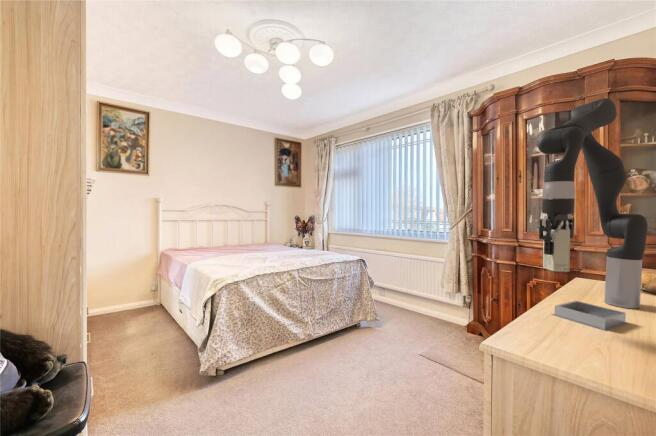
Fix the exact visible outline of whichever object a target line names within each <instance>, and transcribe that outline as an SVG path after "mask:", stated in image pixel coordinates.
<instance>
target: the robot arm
mask: <svg viewBox="0 0 656 436" xmlns="http://www.w3.org/2000/svg"><path fill="white" fill-rule="evenodd" d="M616 118H617V107H616V104H615V102H614V101H613V100H612V99H611V98H599V99H596V100H593V101H590V102H588V103H585V104H582V105H579V106H576V107H574V108H572V110H571V112H570V119H569V120H567V121H566V122H564V123H563V124H562V125H558V126H555V127H552V128H550V129H548V130H545V131H544V132H543V133H542V134H540V136H539V138H538V139H537V148H538V150H539V151H540V152H541V153H542V154H544V155H556V154H557V155H558V154H563V155H562V157H561V158H560V159H557V160H555V161H551V162H547V163H546V164H545V165H544V169H543V171H544V173H543V175H544V176H543V187H542V195H541V196H542V197H541V199H542V200H541V213H542V214H544V215H546V217H545V218H539V219H538V221H539V222H538V226H539V227H538V239H539V240H542V242H543V241H544V254H547V255H553V254H554V239H555V235H558V232H559V230H560V229H566V230H570V239H573V238H574V228H575V218H570V217H569V215H573V214H575V202H576V201H575V200H576V199H575V198H576V187H575V174H576V173H575V170H576V165H577V161H578V158H579V155H580V153H581V152H582V154H583V156H584V161H585V164H586V168H587V172H588V176H589V179H590V182H591V186H592V188H593V190H594V191H593V192H594V195H595V199H596V202H597V209H598V215H599V221H600V225H601V229H602V232H603V234H604V235H605V236H606V237H607V238H611V239H618V240H620V239H621V240H623V243H622V244H621V245H619V246H616V247H611V248H608V249H607V251H606V261H605V263H606V267H605V282H604V298H603V299H604V300H603V301H604V303H605V304H608V305H610V306H615V307H619V308H625V309H640V308H641V292H642V275H643V272H642V271H643V259H644V258H643V257H644V254H645V251H646V245H647V244H646V243H647V237H648V229H649V228H648V226H649V225H648V221H647V218H646V217H645V216H644V215H642V214H639V213H638V214H637V213H620V212H619V210H618V204H617V202H618V201H617V200H618V197H619V195H620V193H621V192H622V190H623V188H624V187H625V185H626V181H627V173H626V170H625V166H624V163H623V161H622V159H621V157H620V156H618V154H616V153H614V152H613V151H611V150H610V149H608V148H606V147H605V146H604V145H602V144H601V143H600V142H599V141H598V140H597V139H596V138H595V136H594V135H593V132H594V131H596V130H598V129H600V128H603V127H606V126H608V125H611V124H613V122H614V121H615V120H616ZM551 230H555V231H551ZM543 232H544V233H545V234H544V235H543Z"/></svg>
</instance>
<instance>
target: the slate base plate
mask: <svg viewBox="0 0 656 436" xmlns="http://www.w3.org/2000/svg"><path fill="white" fill-rule="evenodd" d="M576 311H577V310H576ZM579 312H581V311H579ZM583 313H585V312H583ZM554 314H555V313H551V314H550V316H555V317H558V318H561V319H564V320H568V321H570V322H574V323H578V324H580V325H583V326H587V327H591V328H594V329H597V330H601V331H604V332H610V331H612V330H615V329H619V328H621V327H623V326H626V325H628V324H630V322H626V321H625V323H623V324H620V325H617V326H614V327H612V328H609V329H606V330H603V329H600V328H597V327H593V326H590V325H587V324H583V323H580V322H577V321H573V320H570V319H567V318H563V317H560V316H556V315H554ZM586 314H588V313H586ZM590 315H592V314H590ZM594 316H596V315H594ZM598 317H599V316H598ZM601 318H603V317H601Z"/></svg>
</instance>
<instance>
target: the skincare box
mask: <svg viewBox="0 0 656 436" xmlns="http://www.w3.org/2000/svg"><path fill="white" fill-rule="evenodd" d="M551 231H555V230H551ZM544 234H545V233H544V232H543V235H544ZM542 246H543V247H542V248H543V249H542V251H543V252H542V255H543V256H542V267H543V269H546V270H549V271H551V272H559V273H568V272H569V273H570V272H571V271H570V270H571V269H570V268H571V267H570V266H571V259H570V257H571V238H570V230H566V229H560V230H559V232H558V235H555V239H554V254H553V255H547V254H544V241H543V240H542Z"/></svg>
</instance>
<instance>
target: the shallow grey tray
mask: <svg viewBox="0 0 656 436" xmlns="http://www.w3.org/2000/svg"><path fill="white" fill-rule="evenodd" d="M576 310H577V311H576ZM579 311H581V312H579ZM583 312H585V313H583ZM586 313H588V314H586ZM553 314H554V315H556V316H555V317H557V316H560V317H563V318H562V319H564V318H567V319H570V320H573V321H572V322H574V321H577V322H580V323H583V324H582V325H584V324H587V325H590V326H593V327H592V328H594V327H597V328H600V329H603V330H602V331H604V330H606V329H609V328H612V327H614V326H617V325H620V324H623V323H625V322H626V316H627V315H626V314H627V313H626V312H624V311H619V310H616V309H613V308H608V307H603V306H599V305H595V304H591V303H587V302H582V301H579V300H573V301H568V302H565V303H560V304H556V305H554V313H553ZM590 314H592V315H590ZM554 315H553V316H554ZM594 315H596V316H594ZM598 316H599V317H598ZM560 317H559V318H560ZM601 317H603V318H601ZM567 319H566V320H567ZM570 320H569V321H570ZM577 322H576V323H577ZM580 323H579V324H580ZM587 325H586V326H587ZM590 326H589V327H590ZM597 328H596V329H597ZM600 329H599V330H600Z"/></svg>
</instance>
